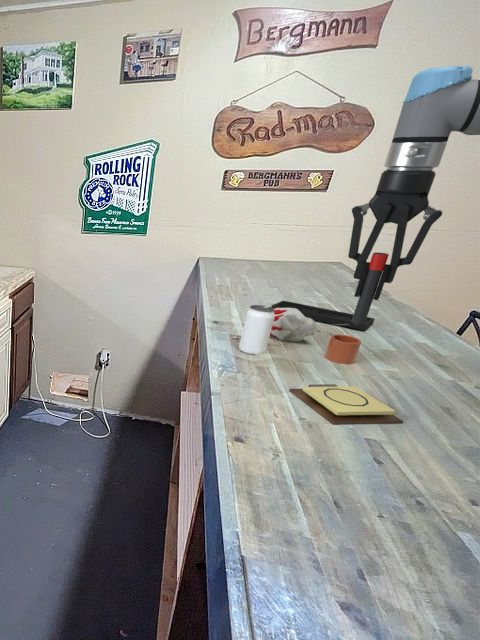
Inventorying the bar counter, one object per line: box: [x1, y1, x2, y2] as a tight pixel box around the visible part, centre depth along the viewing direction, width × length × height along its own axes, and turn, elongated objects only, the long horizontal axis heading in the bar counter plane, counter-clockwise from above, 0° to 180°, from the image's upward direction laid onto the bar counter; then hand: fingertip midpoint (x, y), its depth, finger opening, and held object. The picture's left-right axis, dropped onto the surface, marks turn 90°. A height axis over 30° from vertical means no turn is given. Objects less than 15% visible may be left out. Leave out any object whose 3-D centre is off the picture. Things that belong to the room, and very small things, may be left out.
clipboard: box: [289, 383, 404, 425], centre depth 95 cm, size 14×14×2 cm
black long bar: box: [270, 300, 375, 331], centre depth 146 cm, size 26×3×30 cm
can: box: [238, 304, 275, 356], centre depth 120 cm, size 6×6×12 cm
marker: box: [352, 252, 390, 326], centre depth 90 cm, size 2×2×14 cm
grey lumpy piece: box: [270, 307, 317, 343], centre depth 131 cm, size 9×11×15 cm
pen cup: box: [324, 334, 362, 365], centre depth 116 cm, size 6×6×6 cm
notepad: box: [302, 385, 396, 415], centre depth 94 cm, size 11×12×1 cm
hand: (366, 296), depth 91 cm, fingers closed on marker, 2 cm apart
